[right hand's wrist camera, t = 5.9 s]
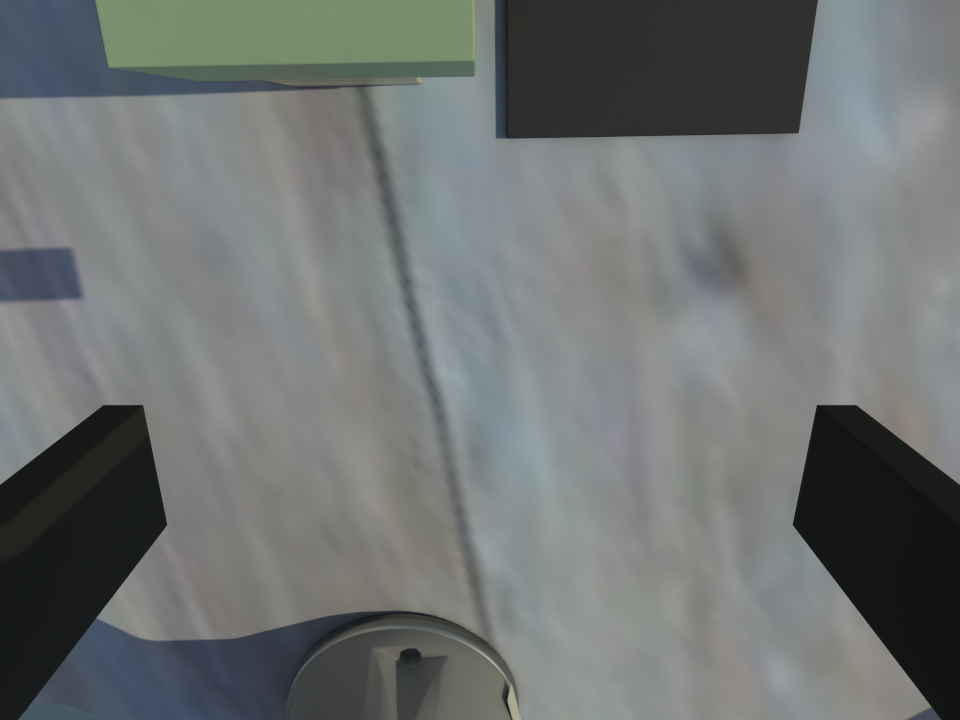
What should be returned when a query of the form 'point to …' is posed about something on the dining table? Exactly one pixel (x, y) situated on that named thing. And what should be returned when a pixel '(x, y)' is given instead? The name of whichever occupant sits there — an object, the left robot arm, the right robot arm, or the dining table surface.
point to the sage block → (289, 38)
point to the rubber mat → (656, 67)
